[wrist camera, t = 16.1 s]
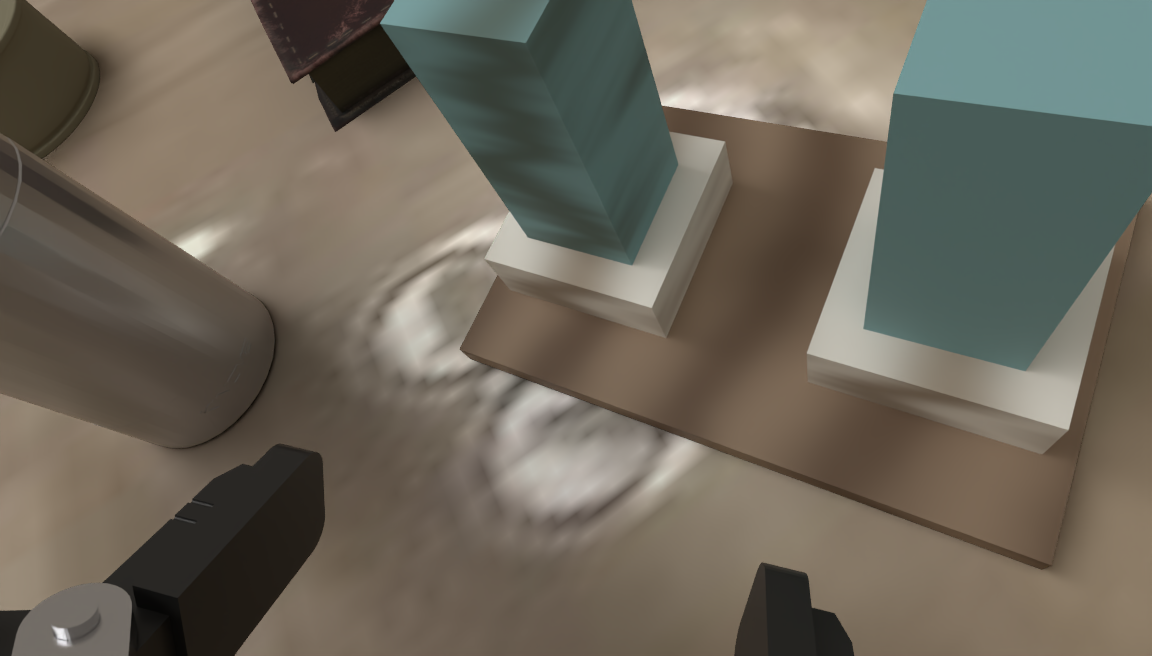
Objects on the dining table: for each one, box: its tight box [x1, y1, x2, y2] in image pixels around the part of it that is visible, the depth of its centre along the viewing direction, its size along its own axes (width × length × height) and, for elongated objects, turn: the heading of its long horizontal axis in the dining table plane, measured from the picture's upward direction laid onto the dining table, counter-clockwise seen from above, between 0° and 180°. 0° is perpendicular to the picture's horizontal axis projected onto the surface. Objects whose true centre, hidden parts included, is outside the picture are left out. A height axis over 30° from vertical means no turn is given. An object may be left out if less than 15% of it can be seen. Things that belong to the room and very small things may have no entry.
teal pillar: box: [863, 0, 1152, 371], centre depth 19 cm, size 5×5×12 cm
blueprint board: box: [380, 0, 1138, 569], centre depth 24 cm, size 24×15×16 cm, turn 65°
